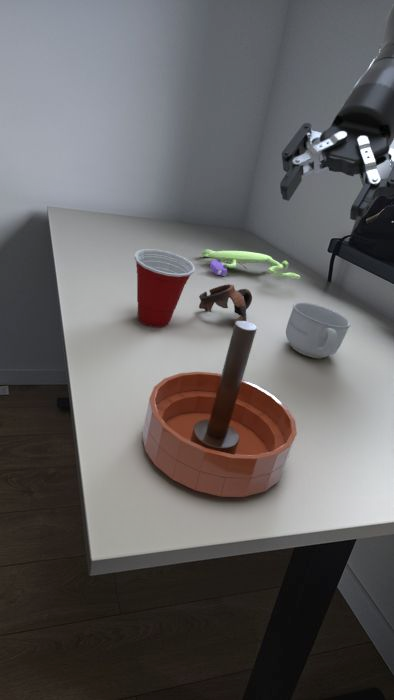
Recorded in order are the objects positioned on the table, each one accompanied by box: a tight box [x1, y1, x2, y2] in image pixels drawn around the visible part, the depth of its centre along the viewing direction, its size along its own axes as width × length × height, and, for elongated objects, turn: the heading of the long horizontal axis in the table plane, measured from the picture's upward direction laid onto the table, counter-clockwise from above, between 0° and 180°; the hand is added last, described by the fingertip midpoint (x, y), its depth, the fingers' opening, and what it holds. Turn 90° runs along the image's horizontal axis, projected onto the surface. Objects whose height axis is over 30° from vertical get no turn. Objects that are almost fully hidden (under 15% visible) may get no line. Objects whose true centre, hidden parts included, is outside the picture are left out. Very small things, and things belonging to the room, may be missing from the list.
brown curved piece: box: [198, 284, 253, 324], centre depth 99 cm, size 12×10×8 cm
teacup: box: [285, 301, 351, 359], centre depth 91 cm, size 14×11×8 cm
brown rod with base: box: [191, 320, 258, 454], centre depth 56 cm, size 6×6×16 cm
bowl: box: [141, 371, 298, 498], centre depth 59 cm, size 17×17×6 cm
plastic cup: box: [133, 248, 196, 328], centre depth 88 cm, size 11×11×12 cm
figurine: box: [201, 249, 301, 281], centre depth 131 cm, size 18×27×6 cm
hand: (318, 205), depth 57 cm, fingers open, 8 cm apart
